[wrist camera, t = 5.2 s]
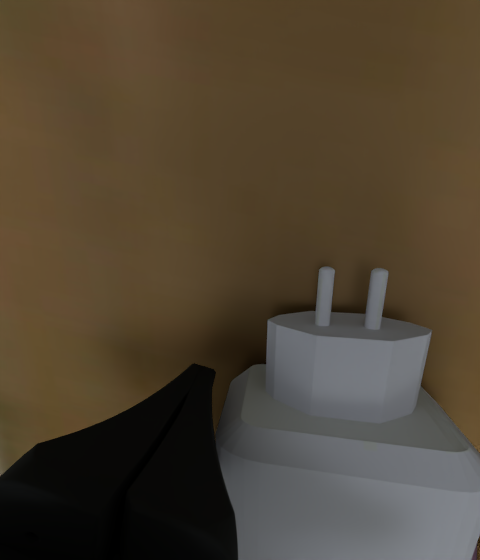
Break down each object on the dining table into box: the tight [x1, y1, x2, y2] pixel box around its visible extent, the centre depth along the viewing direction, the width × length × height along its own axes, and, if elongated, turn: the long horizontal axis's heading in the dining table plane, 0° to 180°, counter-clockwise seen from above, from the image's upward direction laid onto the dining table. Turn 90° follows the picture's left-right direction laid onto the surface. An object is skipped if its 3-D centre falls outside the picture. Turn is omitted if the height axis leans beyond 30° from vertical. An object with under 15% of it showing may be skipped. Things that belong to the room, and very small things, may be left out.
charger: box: [216, 266, 480, 560], centre depth 10 cm, size 5×9×15 cm
